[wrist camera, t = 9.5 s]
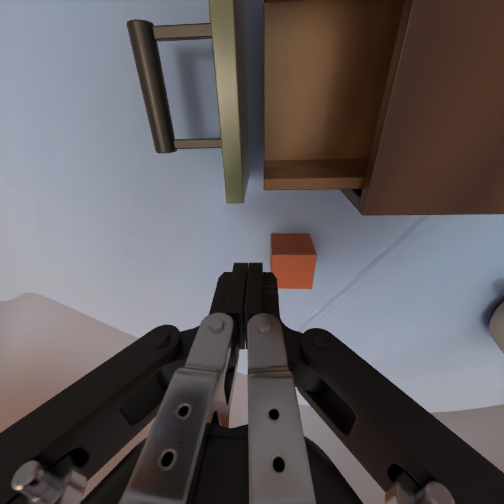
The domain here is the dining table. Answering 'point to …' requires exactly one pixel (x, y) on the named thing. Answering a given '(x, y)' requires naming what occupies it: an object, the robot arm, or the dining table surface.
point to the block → (293, 260)
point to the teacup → (498, 326)
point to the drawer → (286, 88)
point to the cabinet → (440, 115)
